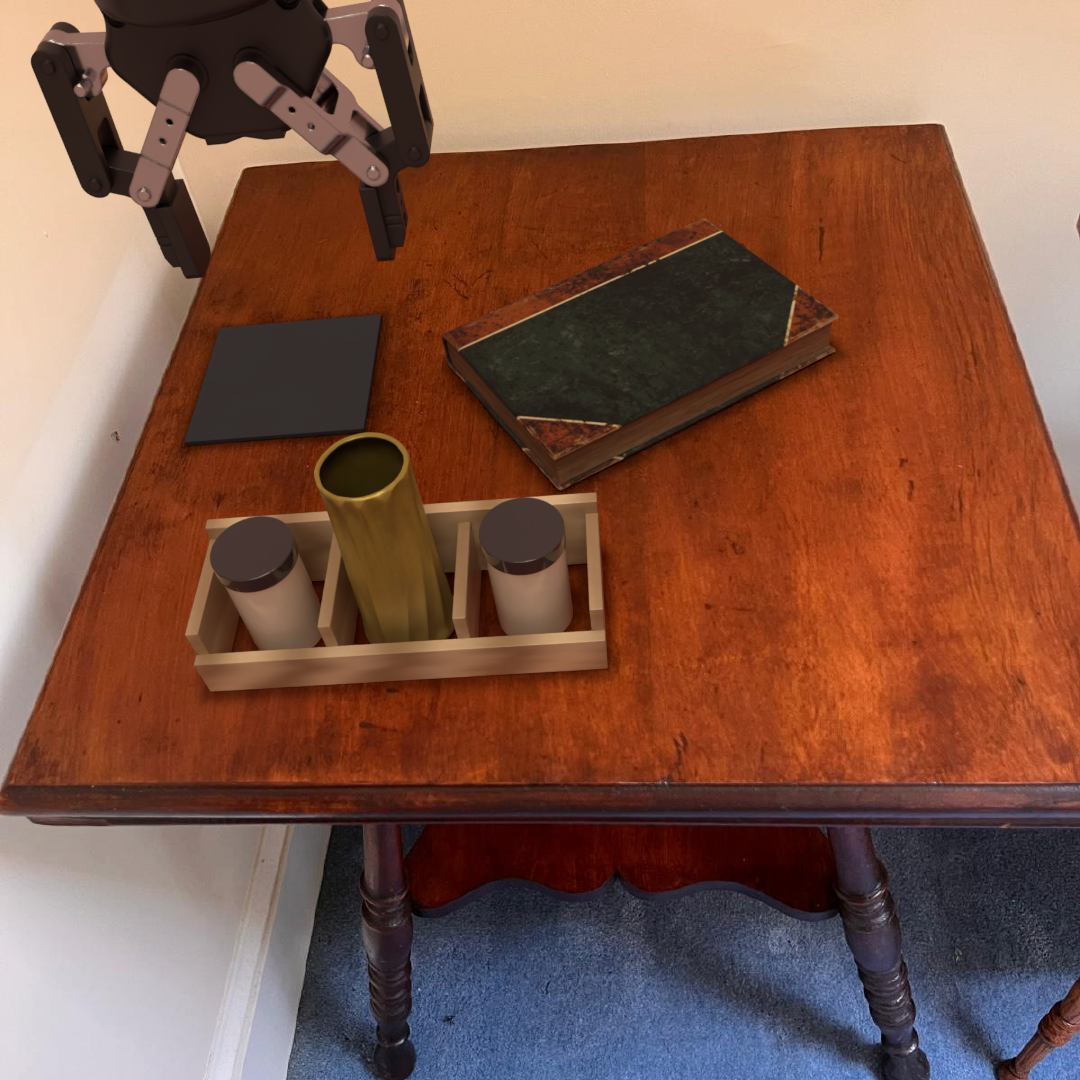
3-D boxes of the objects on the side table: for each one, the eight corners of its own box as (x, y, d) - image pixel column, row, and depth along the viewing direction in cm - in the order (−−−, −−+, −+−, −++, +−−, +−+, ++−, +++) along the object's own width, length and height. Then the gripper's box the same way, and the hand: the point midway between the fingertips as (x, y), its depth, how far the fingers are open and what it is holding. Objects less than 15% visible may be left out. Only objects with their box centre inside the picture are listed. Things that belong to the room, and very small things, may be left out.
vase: (351, 652, 65) (287, 500, 54) (383, 577, 69) (329, 420, 58) (442, 666, 64) (395, 513, 53) (470, 589, 68) (431, 431, 57)
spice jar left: (245, 662, 66) (201, 583, 59) (259, 599, 69) (218, 518, 63) (323, 658, 65) (286, 577, 59) (332, 595, 68) (299, 512, 62)
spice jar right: (495, 647, 64) (477, 565, 58) (497, 584, 68) (480, 500, 62) (575, 642, 64) (565, 559, 58) (573, 579, 67) (563, 494, 61)
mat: (186, 445, 79) (184, 442, 79) (221, 331, 89) (219, 327, 88) (364, 432, 78) (363, 428, 78) (382, 317, 88) (381, 313, 87)
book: (557, 494, 72) (836, 353, 79) (553, 458, 70) (842, 315, 76) (445, 364, 83) (700, 249, 89) (438, 328, 80) (701, 212, 87)
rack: (210, 692, 64) (175, 636, 60) (237, 577, 70) (207, 519, 66) (608, 668, 63) (602, 610, 58) (601, 553, 69) (596, 491, 64)
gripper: (381, -225, 35) (456, 199, 48) (-17, -177, 36) (157, 226, 49) (356, -154, 30) (447, 298, 43) (-102, -100, 32) (115, 326, 44)
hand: (293, 259), depth 46 cm, fingers open, 8 cm apart
